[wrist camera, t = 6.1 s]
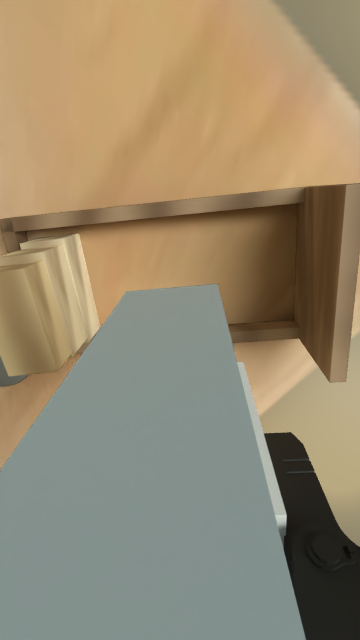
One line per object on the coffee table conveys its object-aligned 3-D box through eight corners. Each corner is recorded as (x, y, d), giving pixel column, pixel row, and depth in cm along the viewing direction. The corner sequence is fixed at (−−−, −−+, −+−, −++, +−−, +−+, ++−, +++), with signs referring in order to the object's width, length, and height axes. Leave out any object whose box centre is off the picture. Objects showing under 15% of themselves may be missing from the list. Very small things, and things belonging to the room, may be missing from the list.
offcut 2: (28, 357, 28) (8, 376, 25) (-6, 267, 25) (-32, 276, 22) (72, 352, 27) (57, 371, 24) (43, 259, 24) (23, 268, 22)
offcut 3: (65, 329, 35) (50, 345, 32) (40, 237, 32) (19, 243, 28) (100, 326, 35) (89, 342, 31) (79, 232, 31) (63, 238, 28)
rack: (46, 347, 36) (-7, 401, 27) (10, 217, 31) (-71, 228, 22) (305, 329, 34) (346, 381, 24) (311, 186, 29) (367, 182, 19)
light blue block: (150, 436, 17) (38, 1038, 5) (126, 291, 14) (-297, 890, 2) (226, 432, 17) (308, 1067, 5) (217, 283, 14) (381, 943, 2)
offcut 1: (48, 341, 31) (28, 361, 28) (20, 249, 28) (-8, 258, 24) (87, 337, 31) (72, 357, 27) (63, 244, 28) (42, 252, 24)
